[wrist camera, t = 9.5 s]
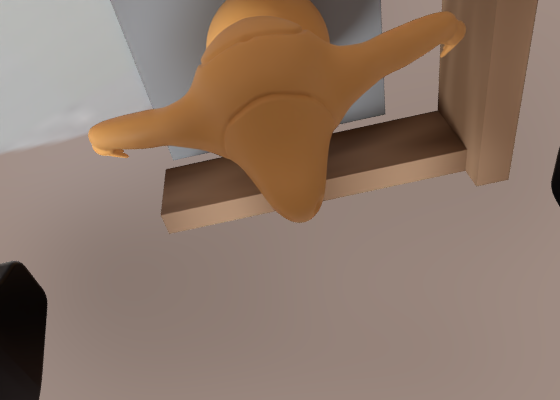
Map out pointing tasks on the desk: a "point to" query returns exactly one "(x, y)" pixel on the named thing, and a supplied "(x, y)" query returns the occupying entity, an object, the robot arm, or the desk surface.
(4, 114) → the desk surface
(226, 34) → the figurine
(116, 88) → the desk surface
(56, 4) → the desk surface
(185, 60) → the notched stand
